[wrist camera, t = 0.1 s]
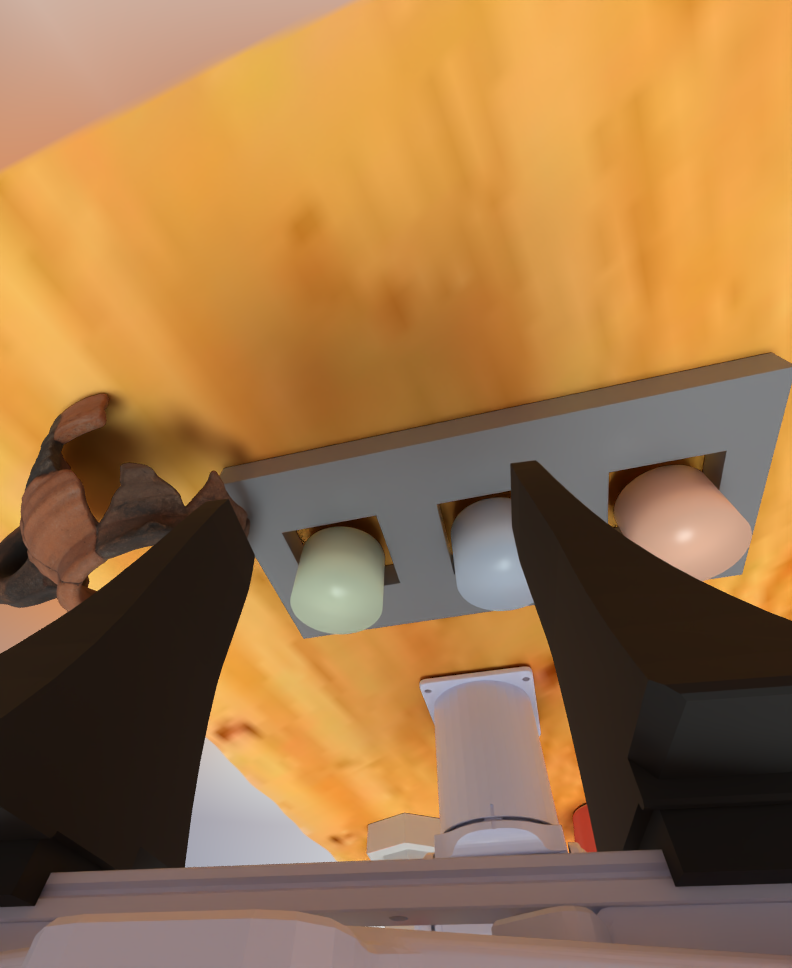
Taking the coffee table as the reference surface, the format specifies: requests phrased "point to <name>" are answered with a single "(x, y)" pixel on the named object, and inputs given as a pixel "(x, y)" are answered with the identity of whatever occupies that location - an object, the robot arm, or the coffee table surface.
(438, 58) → the coffee table surface
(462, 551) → the slate button
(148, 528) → the brown curved piece
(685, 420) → the grey slotted board
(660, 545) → the terracotta button
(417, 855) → the decorative lighthouse
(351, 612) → the sage button
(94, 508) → the coffee table surface
